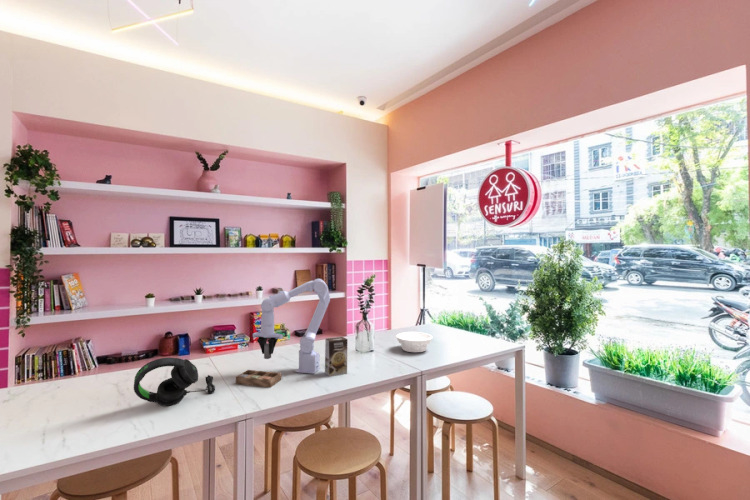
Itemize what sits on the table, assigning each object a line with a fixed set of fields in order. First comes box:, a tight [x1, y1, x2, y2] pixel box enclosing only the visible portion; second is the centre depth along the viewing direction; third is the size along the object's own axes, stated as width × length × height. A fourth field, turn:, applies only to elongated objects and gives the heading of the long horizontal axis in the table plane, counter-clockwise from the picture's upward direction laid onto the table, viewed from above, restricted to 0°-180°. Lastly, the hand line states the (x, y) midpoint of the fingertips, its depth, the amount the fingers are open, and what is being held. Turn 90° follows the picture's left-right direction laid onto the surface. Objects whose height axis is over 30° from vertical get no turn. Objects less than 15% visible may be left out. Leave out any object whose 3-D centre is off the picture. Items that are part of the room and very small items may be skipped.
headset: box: [133, 357, 216, 407], centre depth 131 cm, size 18×14×29 cm
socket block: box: [235, 369, 282, 388], centre depth 151 cm, size 17×9×3 cm, turn 77°
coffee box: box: [324, 336, 348, 377], centre depth 162 cm, size 9×6×16 cm
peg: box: [263, 342, 272, 360], centre depth 161 cm, size 3×3×6 cm
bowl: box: [395, 331, 434, 353], centre depth 201 cm, size 21×21×8 cm
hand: (267, 353), depth 161 cm, fingers closed on peg, 3 cm apart
